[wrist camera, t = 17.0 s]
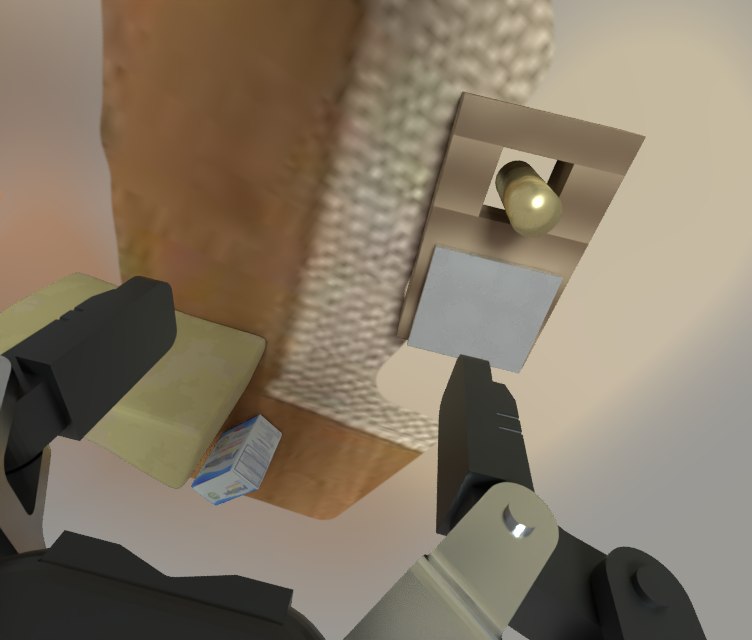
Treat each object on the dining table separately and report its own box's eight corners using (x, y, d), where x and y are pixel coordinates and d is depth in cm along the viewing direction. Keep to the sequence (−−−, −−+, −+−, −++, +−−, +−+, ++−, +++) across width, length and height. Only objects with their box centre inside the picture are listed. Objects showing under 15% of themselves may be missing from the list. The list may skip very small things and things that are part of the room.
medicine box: (261, 412, 50) (230, 468, 43) (284, 433, 52) (258, 491, 45) (222, 431, 54) (188, 487, 46) (245, 451, 55) (215, 508, 48)
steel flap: (435, 243, 31) (436, 246, 30) (559, 274, 30) (563, 278, 30) (407, 339, 35) (407, 345, 34) (516, 367, 34) (519, 373, 34)
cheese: (73, 306, 46) (-69, 394, 33) (78, 239, 40) (-86, 311, 28) (245, 390, 49) (177, 499, 36) (271, 337, 44) (201, 443, 31)
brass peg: (504, 156, 30) (522, 182, 23) (541, 166, 30) (571, 196, 23) (489, 193, 32) (502, 230, 25) (524, 203, 32) (548, 242, 25)
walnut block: (462, 91, 29) (465, 93, 25) (621, 129, 28) (645, 136, 25) (400, 314, 39) (396, 336, 36) (515, 343, 39) (521, 368, 36)
